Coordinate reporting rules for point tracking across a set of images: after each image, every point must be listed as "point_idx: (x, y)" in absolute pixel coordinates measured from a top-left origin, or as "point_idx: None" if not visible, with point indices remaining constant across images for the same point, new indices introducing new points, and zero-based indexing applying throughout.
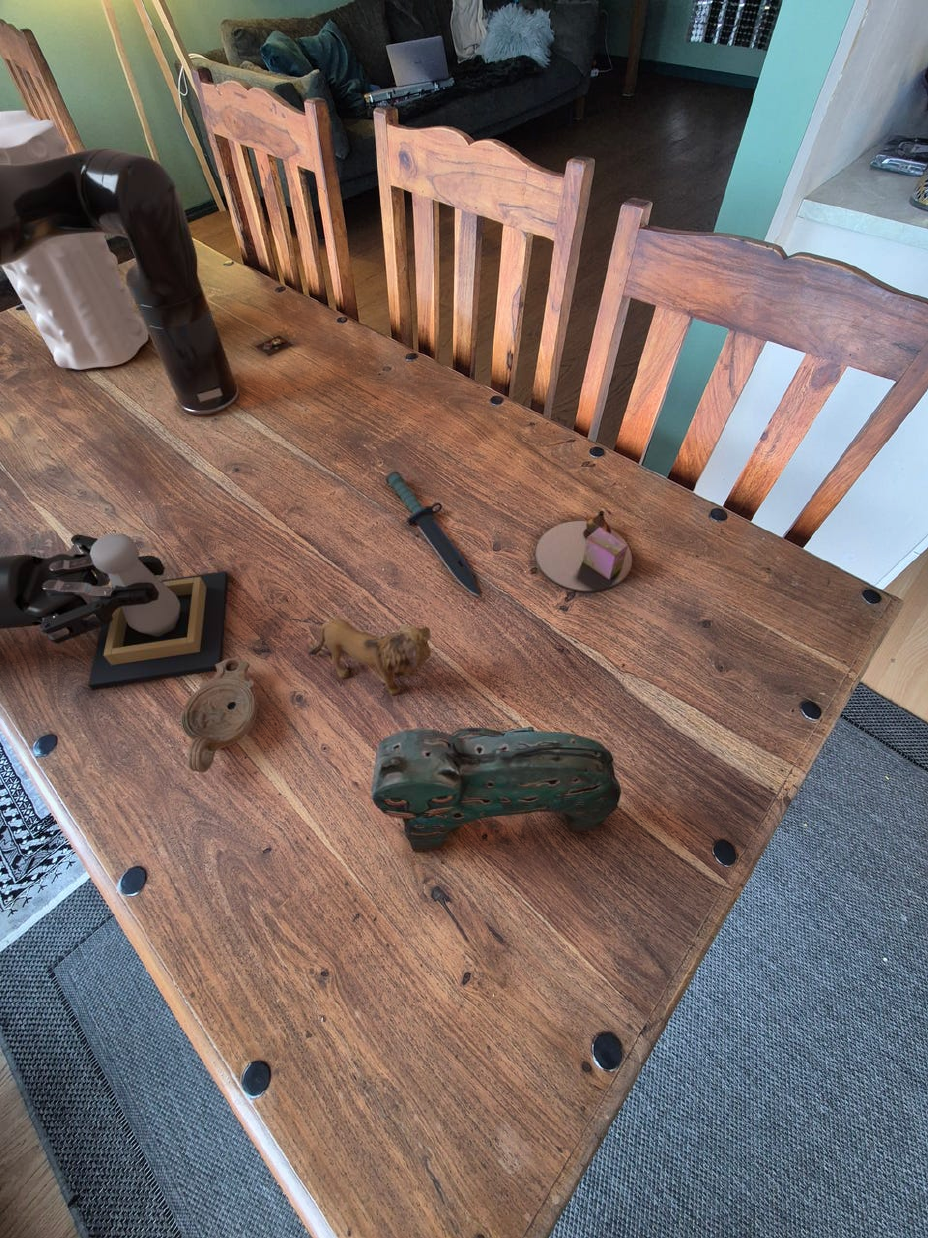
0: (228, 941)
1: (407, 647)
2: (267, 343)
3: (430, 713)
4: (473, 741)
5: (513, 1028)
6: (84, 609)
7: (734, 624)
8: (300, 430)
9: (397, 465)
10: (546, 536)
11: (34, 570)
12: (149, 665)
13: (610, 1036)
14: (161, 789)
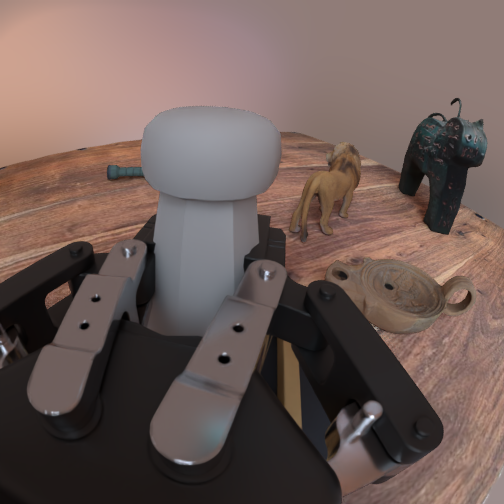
0: None
1: (357, 150)
2: None
3: (360, 209)
4: (443, 125)
5: (488, 230)
6: (344, 318)
7: (301, 145)
8: None
9: (89, 178)
10: None
11: (13, 496)
12: (305, 399)
13: (475, 214)
14: (471, 368)
